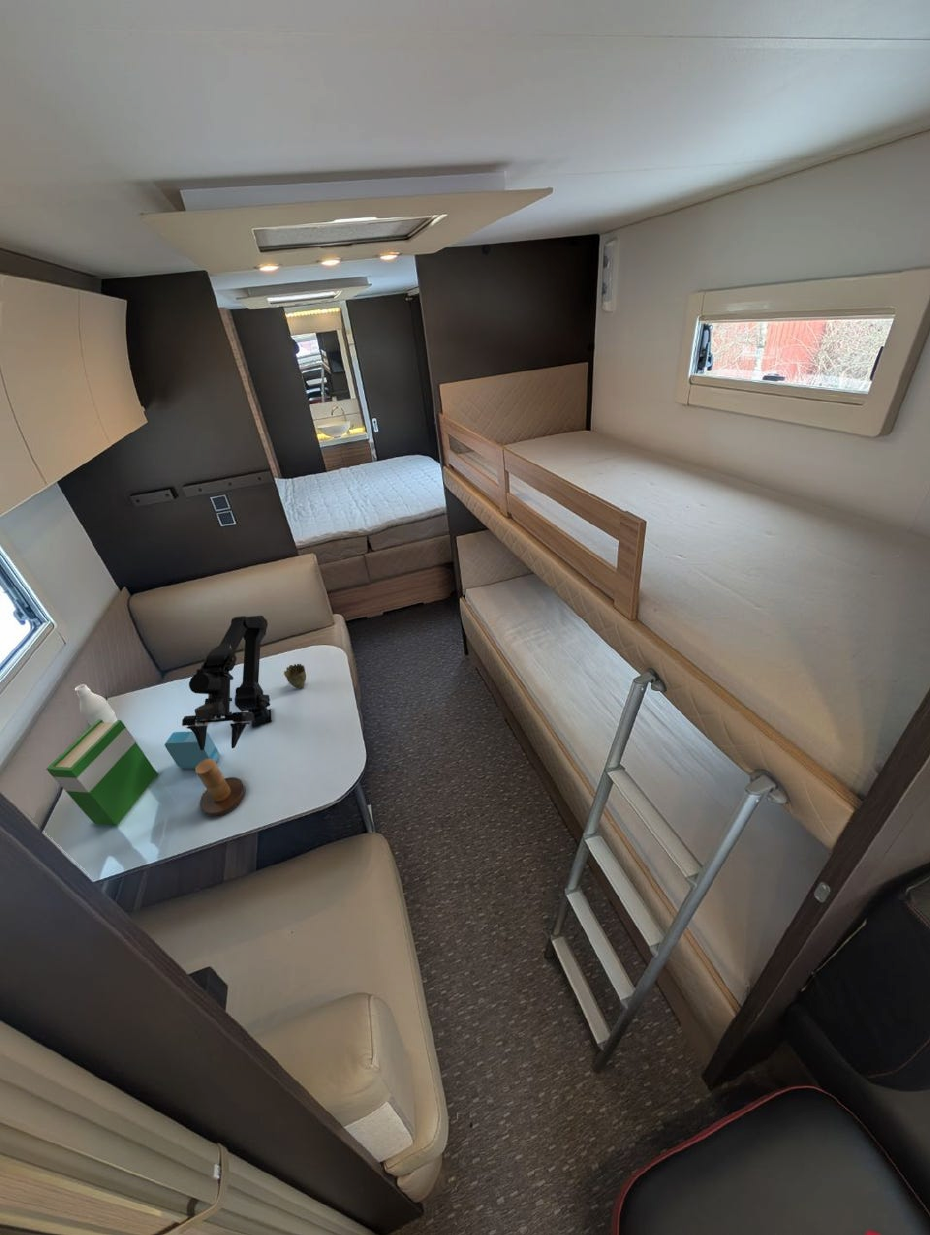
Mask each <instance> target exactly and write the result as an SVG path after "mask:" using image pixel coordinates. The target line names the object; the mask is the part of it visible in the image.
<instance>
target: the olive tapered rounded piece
mask: <svg viewBox="0 0 930 1235" xmlns="http://www.w3.org/2000/svg"><path fill="white" fill-rule="evenodd" d="M285 669H286V670H284V671H283V675H284V677H285V678H286V680H287V682H288V683H289V684H290V685H291V686H293V687H294V688H295V689H302V688H304V687H305V683H306V681H307V673H306V668H305V665H304V664H302V663H297V664H296V663H294V664H293V665H292V664H289V665H288V666H287V667H286V668H285Z"/></svg>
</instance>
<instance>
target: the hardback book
mask: <svg viewBox="0 0 930 1235" xmlns="http://www.w3.org/2000/svg"><path fill="white" fill-rule="evenodd" d="M46 771H47V773H49V774H50V775H51V777H52V778H53V779H54V780H55V781H56V782H57V783H58V784H59V785H60V787H61V789H63V790H64V791H65V792H66V794H68V796H69V797H70V798H71V799H72V801H74V803H75V804H76V805H77V806H78V807H79V808H80V809H81V811H82V812H83V813H84V814H85V816H87V817H88V819H89V820H90V821H91V822H92V823H93V824H94V825H99V826H100V825H101V826H102V825H103V826H113V827H117V826H118V825H119V824H120V823H121V822H122V820H123V819H124V818H125V816H126V815H128V813H129V812H130V810H131V809H132V808H133V807H134V805H135V804H136V803H137V802H138V800H140V798H141V796H142V795H143V794H144V793H145V791H147V789H148V788H149V787H150V785H151V784H152V783H153V781H154V780H156V778H157V777H158V776H159V773H158V772H157V771H156V769H155V767H154V766H153V765H152V763H151V762H150V760H149V758H147V756H146V754H145V753H144V751H143V750H142V748H141V747H140V746H139V744H138V743H137V741H136V740H135V739H134V737H133V736H132V734H131V732H130V731H129V730H128V728H127V727H126V725H125V723H124V722H123V721H122V719H117V721H116V722H115V723H104V722H103V721H102V719H98V720H97V721H96V722H95V723H94V724H93V725H92V726H91V725H90V727H88V728H87V729H86V730H85V731H84V732H83V733H82V734H81V735H80V736H79V737H77V739H76V740H75V741H74V742H73V743H71V744H70V746H68V747H67V749H65V750H64V751H63V752H62V753H61V754H60V755H59V756H58V757H57V758H56V759H55V760H54V761H53V762H52V763H51V764H50V765H49V766H48V767H47V768H46Z"/></svg>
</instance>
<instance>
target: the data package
mask: <svg viewBox="0 0 930 1235" xmlns="http://www.w3.org/2000/svg"><path fill="white" fill-rule="evenodd" d="M164 748H165V749H166V750H167V752H168V753H169V755H170V756H171V758H172V760H173V761H174V763H175V764H176V766H177V767H178V768H179V769H183V770H185V769H187V770H188V769H196V766H197V765H198V764H199V763H200V762H202V761H203V760H206V759H213V760H214V761H215V763H216V764H217V762H218V760H219V758H220V756H221V754H220V752H219V750H218V748H217V746H216V744H215V742H214V741H213V739H212V737H211V735H210V734H209V733H208V732H207V733H206V742H205V748H204V750H200V747H199V744H198V742H197V739H196V736H195V734H194V733H193V731H174V732H172V733H171V735H170V736H169V737H168V739H167V740H166V742H165V743H164Z"/></svg>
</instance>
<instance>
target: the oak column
mask: <svg viewBox="0 0 930 1235" xmlns="http://www.w3.org/2000/svg"><path fill="white" fill-rule="evenodd" d="M194 769H195V773H196V774H197V776H198V777H199V779H200V781H201V783H202V784H203V785H204V787H205V788H206V789H207V790H208V792H209V794H210V795H211V797H212V799H213V800H214V801H216V802H219V801H223V800H225V799H226V798H227V797H228V796H229V795H230V793H231V789H230V787H229V786H228V784H227V782H226V780H225V779H224V778H225V777H224V775H223V774H222V772H221V770H220V768H219V766H218V765H217V762H216V763H215V761H214V760H213V759H206V760H203V761H202V762H200V763H199V764H198V765H197V766H196V768H194ZM206 789H205V790H206Z"/></svg>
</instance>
